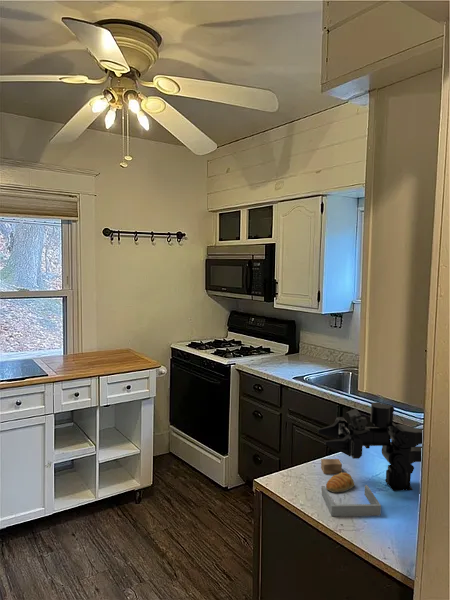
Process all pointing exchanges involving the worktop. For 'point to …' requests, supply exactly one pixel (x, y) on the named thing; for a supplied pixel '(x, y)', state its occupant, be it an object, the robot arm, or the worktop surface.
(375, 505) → the bay
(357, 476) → the worktop surface
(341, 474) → the pastry
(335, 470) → the cardboard brown box
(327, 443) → the robot arm
